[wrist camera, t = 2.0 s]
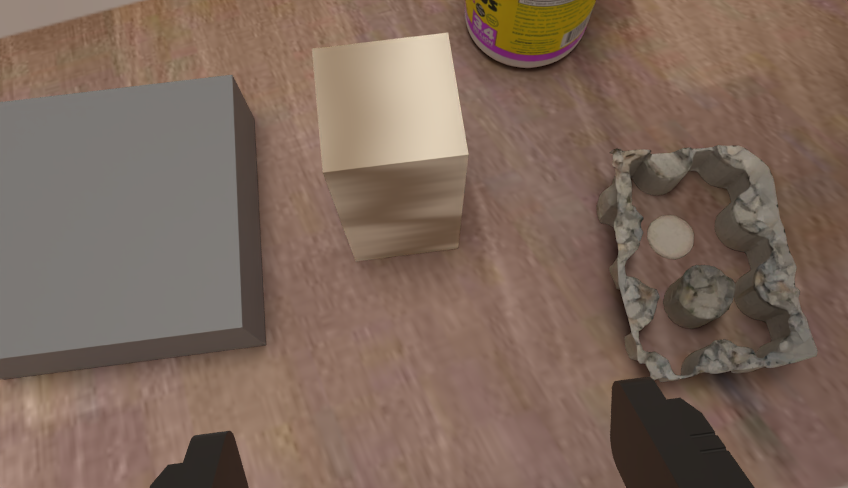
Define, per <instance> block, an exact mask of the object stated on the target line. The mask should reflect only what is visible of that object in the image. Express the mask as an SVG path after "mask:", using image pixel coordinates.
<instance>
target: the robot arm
mask: <svg viewBox="0 0 848 488" xmlns="http://www.w3.org/2000/svg"><path fill="white" fill-rule="evenodd" d="M610 441H611V449H612V454H613V458H614V461H615V464H616V467H617V469H618V471H619V473H620V475H621V477H622V479H623V482H624V484H625V486H626V488H754V486H753V485H752V483H751V482H750V481H749V479H748V478H747V476H746V475H745V474H744V472H743V471H742V469H741V468H740V466H739V465H738V464H737V462H736V461H735V459H734V458H733V457H732V455H731V454H730V452H729V451H726V447H725V445H724V444H723V443H722V441H721V440H720V438H719V437H718V435H715V431H714V430H713V428H712V427H711V426H710V424H709V423H708V421H707V420H706V419H705V417H704V416H703V414H702V413H701V412H700V411H698V410H697V409H695V408H694V407H692V406H691V405H690V404H688V403H687V402H685V401H684V400H683V399H681V398H675V399H667V400H666V398H665V397H664V395H663V394H662V392H661V390H660V389H659V387H658V386H657V384H656V383H655V381H654V380H653V379H652V378H651V377H643V378H635V379H628V380H620V381H615V382H614V383H613V386H612V403H611V430H610ZM150 488H248V483H247V480H246V476H245V472H244V469H243V465H242V462H241V458H240V455H239V451H238V448H237V444H236V441H235V438H234V435H233V433H232V432H231V431H225V432H217V433H210V434H202V435H195V436H193V437H192V439H191V441H190V443H189V446H188V449H187V452H186V455H185V458H184V461H183V463H178V464H171V465H168V466H167V467H166V468H165V469H164V470H163V471H162V473H161V474H160V475H159V476H158V477H157V478H156V480H155V481H154V482H153V483H152V484H151V485H150Z"/></svg>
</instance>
